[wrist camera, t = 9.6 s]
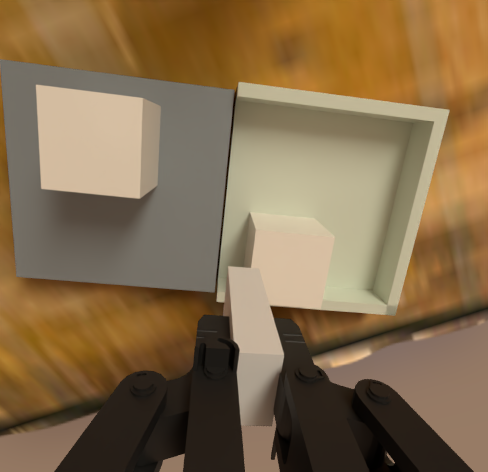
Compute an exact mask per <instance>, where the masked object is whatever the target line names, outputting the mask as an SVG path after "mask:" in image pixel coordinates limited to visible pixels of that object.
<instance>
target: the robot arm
mask: <svg viewBox="0 0 488 472" xmlns="http://www.w3.org/2000/svg"><path fill="white" fill-rule="evenodd" d="M274 415H275V420H276V431H275V436H274V441H273V447H272V453H271V459H272V460H274V459H275V455H276V452H277V458H278V463H279V469H280V472H474V471H473V470H472V469H471V468H470V467H469V466H468V465H467V464H466V463H465V462H464V461H463V460H462V459H461V458H460V457H459V456H458V455H457V454H456V453H455V452H454V451H453V450H452V449H451V448H450V447H449V446H448V445H447V444H446V443H445V442H444V441H443V440H442V439H441V437H439V436H438V434H437V433H436V432H435V431H434V430H433V429H432V428H431V427H430V426H429V425H428V424H427V423H426V422H425V421H424V420H423V419H422V418H421V417H420V416H419V415H418V414H417V413H416V412H415V411H414V410H413V409H412V408H411V407H410V406H409V404H408V403H407V402H405V400H404V399H403V398H402V397H401V396H400V395H399V394H398V393H397V392H396V391H395V390H393V389H392V388H391V387H390V386H388V385H386V384H384V383H382V382H380V381H376V380H372V379H364V380H361V381H359V382H358V383H357V384H356V386H355V389H351V388H347V387H344V386H340V385H337V384H334V383H332V382H330V380H329V378H328V376H327V375H326V373H325V372H324V371H323V370H322V369H321V368H319V367H318V366H316V365H314V363H313V360H312V358H311V355H310V353H309V351H308V348H307V346H306V343H305V341H304V338H303V336H302V333H301V331H300V328H299V326H298V325H297V324H296V323H294V322H293V321H292V320H291V319H281V318H273V315H272V311H271V308H270V305H269V301H268V298H267V294H266V291H265V288H264V284H263V281H262V277H261V274H260V270H259V269H257V268H244V267H231V266H228V272H227V282H226V291H225V300H224V309H223V316H217V315H203V317H202V318H201V319H200V320H199V321H198V328H197V338H196V346H195V352H194V364H193V368H192V369H191V370H190V372H188V373H187V374H186V375H184V376H182V377H180V378H178V379H174V380H170V381H166V379H165V378H164V377H163V376H162V375H161V374H159V373H156V372H154V371H140V372H135V373H133V374H131V375H129V376H127V377H126V378H124V379H123V380H122V381H121V382H120V384H119V385H118V386H117V388H116V389H115V390H114V392H113V393H112V394H111V396H110V397H109V398H108V400H107V401H106V403H105V404H104V405H103V407H102V408H101V409H100V411H99V412H98V413H97V415H96V416H95V417H94V419H93V420H92V421H91V423H90V424H89V426H88V427H87V428H86V430H85V431H84V432H83V434H82V435H81V436H80V438H79V439H78V440H77V442H76V443H75V445H74V446H73V447H72V449H71V450H70V451H69V453H68V454H67V455H66V457H65V458H64V459H63V461H62V462H61V463H60V465H59V466H58V468H57V469H56V470H55V472H159V471H160V468H161V466H162V462H163V460H165V459H168V458H171V457H174V456H178V455H181V454H185V458H184V468H183V472H245V467H244V454H243V443H242V431H241V425H247V426H272V422H273V416H274ZM387 453H388V454H389V455H390V456H391V458H392V459H393V460H394V462H395V464H394V463H393V462H392V461H391V460H390V459H389V458H388V456H387Z"/></svg>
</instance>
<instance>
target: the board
mask: <svg viewBox="0 0 488 472" xmlns="http://www.w3.org/2000/svg"><path fill="white" fill-rule="evenodd" d="M0 69H1V82H2V95H3V108H4V121H5V134H6V147H7V160H8V173H9V186H10V199H11V212H12V224H13V237H14V250H15V263H16V276H17V277H25V278H38V279H50V280H63V281H76V282H89V283H101V284H114V285H127V286H140V287H152V288H165V289H178V290H191V291H203V292H215V283H216V273H217V263H218V252H219V242H220V232H221V222H222V212H223V202H224V192H225V181H226V171H227V161H228V151H229V141H230V131H231V121H232V111H233V100H234V90H230V89H223V88H215V87H207V86H200V85H192V84H184V83H177V82H169V81H162V80H154V79H146V78H139V77H131V76H123V75H116V74H108V73H100V72H93V71H85V70H78V69H70V68H62V67H55V66H47V65H39V64H32V63H24V62H16V61H9V60H1V59H0ZM36 85H44V86H52V87H60V88H68V89H76V90H83V91H91V92H99V93H107V94H115V95H123V96H131V97H139V98H144V99H146V100H148V101H150V102H153V103H155V104H157V105H159V106H161V116H160V139H159V162H158V185H157V186H156V187H155V188H153V189H152V190H151V191H149V192H148V193H147V194H145V195H144V196H143V197H141V198H140V199H137V198H127V197H118V196H108V195H98V194H88V193H78V192H68V191H58V190H48V189H41V174H40V155H39V136H38V116H37V97H36Z"/></svg>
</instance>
